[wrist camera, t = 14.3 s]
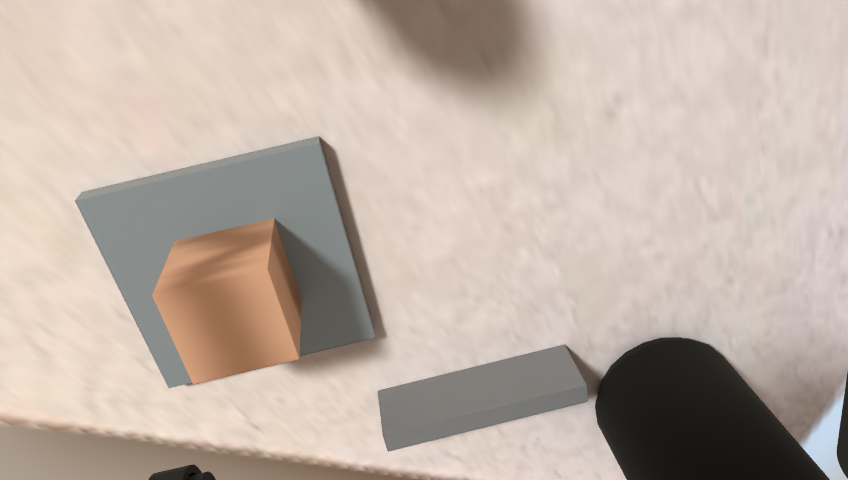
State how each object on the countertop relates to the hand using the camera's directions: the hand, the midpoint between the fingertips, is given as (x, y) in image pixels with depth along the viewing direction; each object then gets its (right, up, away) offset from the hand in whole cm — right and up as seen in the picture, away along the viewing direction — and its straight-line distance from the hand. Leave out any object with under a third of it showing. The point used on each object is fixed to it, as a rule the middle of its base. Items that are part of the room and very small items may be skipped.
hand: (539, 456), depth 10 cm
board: (-13, +2, +32) cm, 35 cm away
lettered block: (-13, +1, +31) cm, 34 cm away
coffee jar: (+16, -8, +42) cm, 46 cm away
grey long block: (+2, -8, +40) cm, 40 cm away
